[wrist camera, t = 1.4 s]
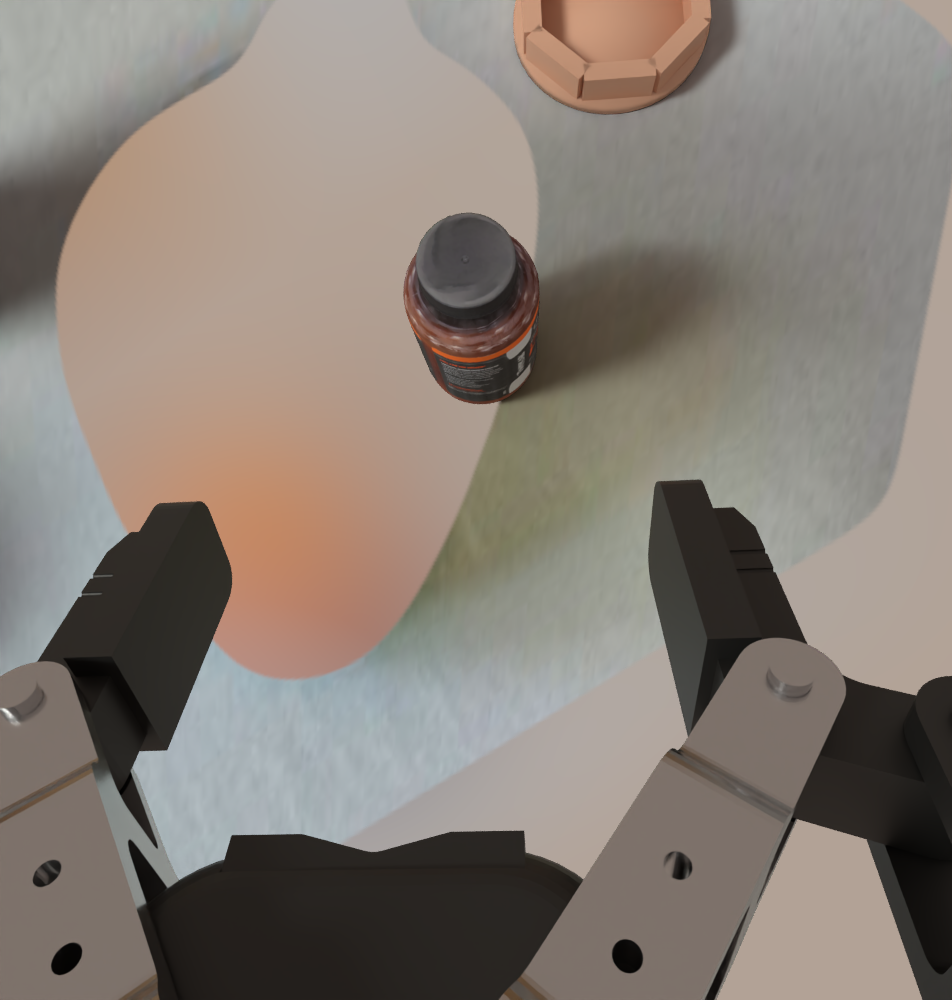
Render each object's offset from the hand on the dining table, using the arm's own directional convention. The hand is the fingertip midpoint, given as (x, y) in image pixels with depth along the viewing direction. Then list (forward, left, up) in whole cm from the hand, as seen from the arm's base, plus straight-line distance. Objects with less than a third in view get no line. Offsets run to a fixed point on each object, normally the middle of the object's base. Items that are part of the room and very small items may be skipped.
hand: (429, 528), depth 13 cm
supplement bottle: (0, +12, -25) cm, 28 cm away
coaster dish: (+8, +31, -25) cm, 40 cm away
